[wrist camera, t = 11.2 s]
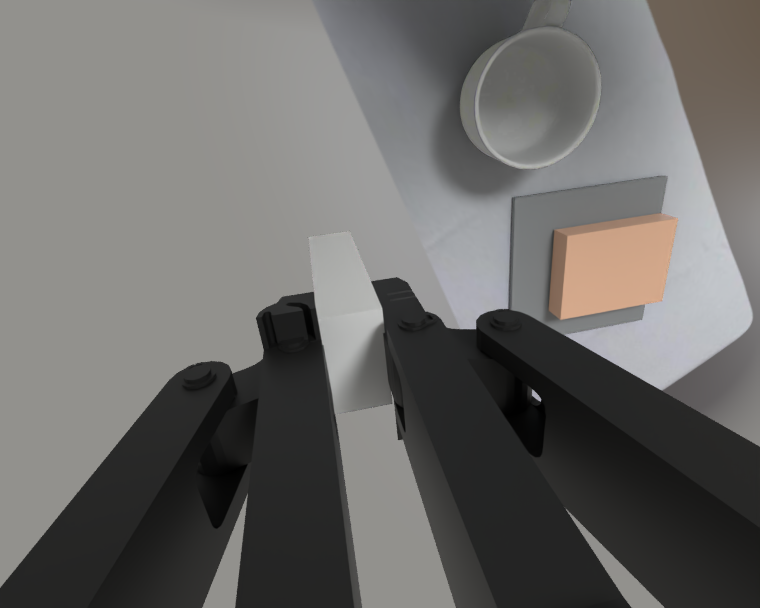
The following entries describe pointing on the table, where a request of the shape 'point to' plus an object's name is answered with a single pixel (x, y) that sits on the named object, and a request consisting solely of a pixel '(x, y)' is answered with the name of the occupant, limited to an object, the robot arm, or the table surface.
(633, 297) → the tile
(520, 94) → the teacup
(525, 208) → the mat
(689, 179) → the table surface
